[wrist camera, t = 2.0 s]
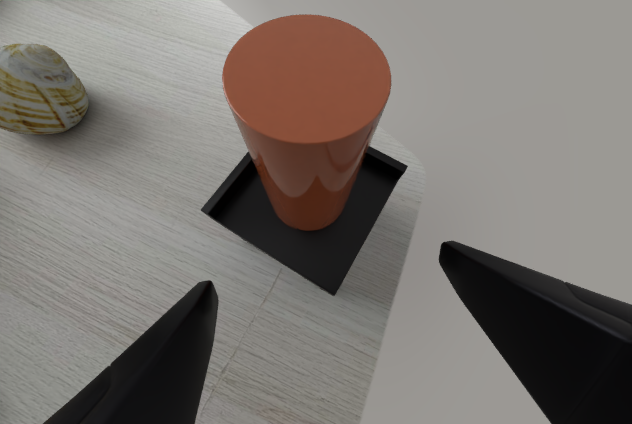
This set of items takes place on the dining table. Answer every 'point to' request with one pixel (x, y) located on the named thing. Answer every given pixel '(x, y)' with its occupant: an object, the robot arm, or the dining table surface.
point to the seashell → (38, 91)
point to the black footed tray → (298, 245)
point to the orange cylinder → (307, 110)
